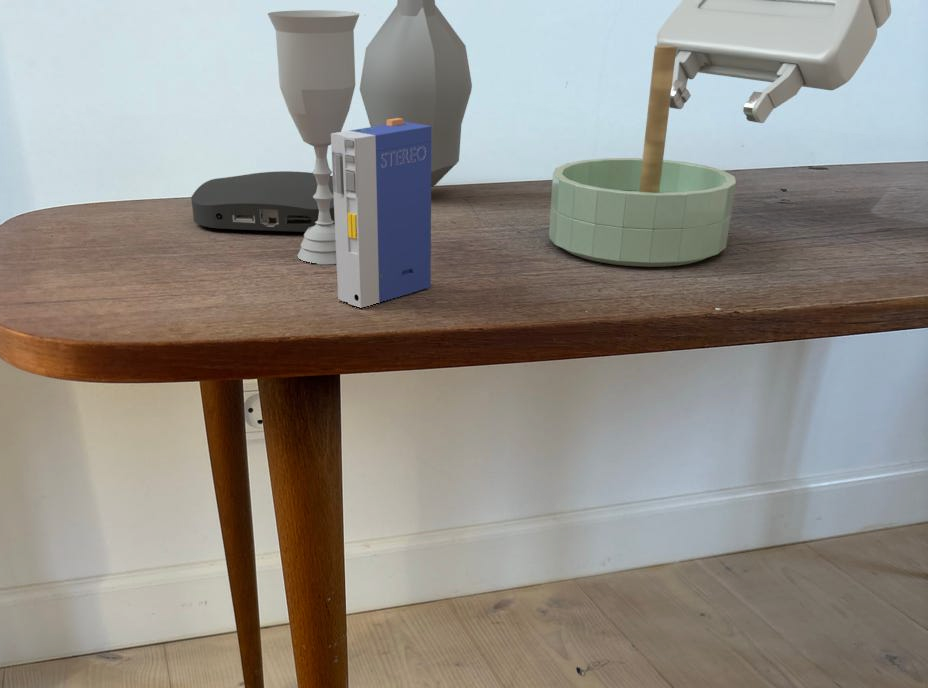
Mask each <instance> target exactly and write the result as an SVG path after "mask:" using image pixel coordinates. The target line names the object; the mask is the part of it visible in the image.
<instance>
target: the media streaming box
mask: <svg viewBox="0 0 928 688" xmlns="http://www.w3.org/2000/svg"><path fill="white" fill-rule="evenodd" d="M317 185H318V184H317V181H316V177H315V176H314V174H313V173H312V172H307V171H284V170H283V171H264V172H256V173H255V172H254V173H249V174H242V175H234V176H227V177H218V178H213V179H209V180H207V181H205V182H203V183H202V184H201V185H199V186H198V187H197V188H196V190H195V191H194V192H193V194H192V195H191V197H190V200H191V207H192V216H193V222H194V223H195V224H196V225H199V226H202V227H206V228H211V229H221V230H239V231H240V230H242V231H260V232H261V231H262V232H263V231H265V232H289V233H290V232H295V233H305V232H306V231H307V229H308V228H309V227H312V226H315V225H316V224H317V223H315V222H316V221H318V216H319V209H318V205H317V201H316V200H315V199H314V198H313V196H314V194H315V193H316V191H317ZM328 186H329V189H330V192H331V193H332V194H333V175H330V177H329V182H328ZM333 195H334V194H333ZM329 212H330V216H331V220H332V221H334V223H333V224H334V225H335V217H334V197H333V199H332V200H331V202H330V209H329Z"/></svg>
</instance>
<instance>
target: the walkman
mask: <svg viewBox="0 0 928 688" xmlns="http://www.w3.org/2000/svg"><path fill="white" fill-rule="evenodd" d="M330 147H331V168H332V169H331V171H332V176H333V194H334V217H335V239H336V262H337V264H336V281H337V282H336V283H337V284H336V285H337V300H338V299H340V300H342V301H345V302H348V304H351V305H354V306H357V307H360V308H361V307H365V306H369V307H371V306H370V305H373V304H376V303H379V304H381V303H380V302H382V301H385V302H387V301H386V300H388V301H390V300H389V299H391V300H394V299H393V298H395V299H397V297H398V298H401V297H404V296H407V295H410V294H413V292H414V293H416V292H420V291H423V290H426V289H430V288H431V286H432V281H431V280H432V277H431V276H432V268H431V267H432V187H431V126H428V125H422V124H415V123H409V122H403V119H400V118H395V119H388V120H387V122H386V125H381V126H375V127H371V126H370V127H364V128H363V127H362V128H357V129H350V130H344V131H341V132H337V133H331V145H330ZM403 295H404V296H403ZM400 296H401V297H400ZM382 303H383V302H382ZM348 304H347V305H348ZM376 305H377V304H376ZM373 306H374V305H373Z"/></svg>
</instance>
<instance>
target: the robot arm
mask: <svg viewBox="0 0 928 688" xmlns="http://www.w3.org/2000/svg"><path fill="white" fill-rule="evenodd" d="M891 6H892V5H891V0H681V1H680V2H679V4H678V5H677V6H676V8H675V9H674V10H673V11H672V12H671V14H669V16H668V18H666V20H665V21H664V23H662V26H660V28H659V30H658V32H657V34H656V45H672V46H676V47H677V48H676V56H675V64H674V73H673V81H672V90H671V98H670V106H669V109H675V110H681V109H683V108H684V106H685V104H686V103H687V102H688V100H689V99H690V98H691V96H692V95H691V93H690V91H689V89H688V88H687V85H688V81H689V80H694V79H695V77H696V76H697V75H698V73H699V74H707V75H714V76H721V77H728V78H737V79H743V80H744V79H745V80H752V81H760V82H767V83H770V84H769V85H768V86H767V87H766V88H765V89H763V90H762V91H753V92H752V94H751V95H750V96H749V99H748V100H747V101H746V102H745V104H744V106H743V109H742V111H743V114H744V115H745V116H746V117H745V118H746V120H747V121H748V122H752V123H759V124H764V123H765V122H766V121H767V119H768V117H769V116H770V115H771V113H772V112H773V110H774V109H777V108H778V107H780V106H781V105H782V104H783V105H784V103H786V102H787V101H789V100H790V99H792V98H793V97H795V96H796V95H798V93H799V91H800V90H801V88H802V87H804V88H812V89H817V90H825V91H835V90H837V89H839V88H840V87H842V86H844V85H845V84H847V83H848V82H850V81H851V79H852V78H853V77H854V76H855V74H856V73H857V71H858V70H859V68H860V66H861V65H863V62H865V59H866V58H867V56H868V54H869V53H870V51H871V49H872V48H873V46H874V44H875V41H876V40H877V37H878V29H879V28H882V27H883V25H885V23H886V22H887V21H888V20H889V18H890V16H891V14H892V7H891Z"/></svg>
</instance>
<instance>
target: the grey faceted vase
mask: <svg viewBox="0 0 928 688" xmlns="http://www.w3.org/2000/svg"><path fill="white" fill-rule="evenodd" d="M359 84H360V85H359V92H360V96H361V98H362V103H363V105H364V109H365V113H366V115H367V119H368V123H369V126H370V127H375V126H381V125H386V122H387V120H388V119H395V118H400V119H403V122H409V123H415V124H422V125H428V126H431V188H433V187H435V186H436V185H437V184H438V183H439V182H440V181H441V180H442V179H443V178H444V177H445V176H446V175H447V174H448V173H449V172H450V171H451V170H452V169H453V168H454V167H455V166H456V165H457V164H458V163H459V162H460V153H461V136H462V124H463V121H464V117H465V115H466V111H467V108H468V104H469V100H470V97H471V94H472V91H473V90H472V88H473V82H472V77H471V71H470V64H469V58H468V52H467V46H466V44H465V43H464V42H463V40H462V39H461V37H460V36H459V35H458V33H457V32H456V30H454V28H453V27H452V25H451V24H450V23H449V21H448V20H447V18H446V17H445V16H444V14H443V12H441V10H440V9H439V7H438V6H437V5H436V0H397V2H396V6H395V7H394V8H393V10H392V11H391V12H390V14H389V15H388V17H387V18H386V20H385V21H384V22H383V23H382V25H381V26H380V28H379V29H378V30H377V32H376V33H375V35H374V36H373V37H372V39H371V40H370V41H369V43H368V44H367V46H366V47H365V51H364V58H363V64H362V70H361V77H360V83H359Z"/></svg>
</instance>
